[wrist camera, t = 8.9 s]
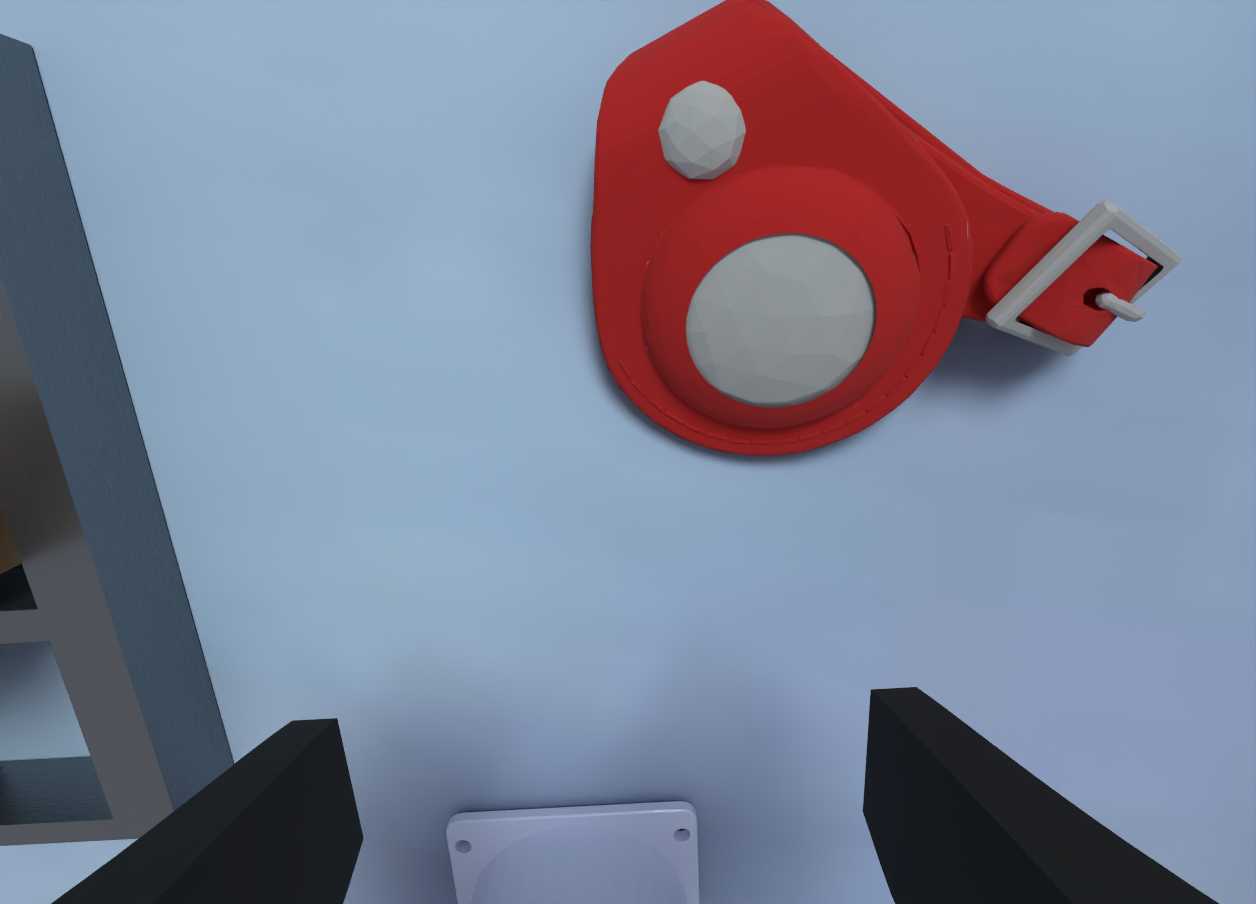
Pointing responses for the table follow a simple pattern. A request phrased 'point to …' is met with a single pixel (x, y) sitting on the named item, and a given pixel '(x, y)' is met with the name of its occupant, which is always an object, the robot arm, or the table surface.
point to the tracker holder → (813, 242)
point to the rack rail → (85, 521)
